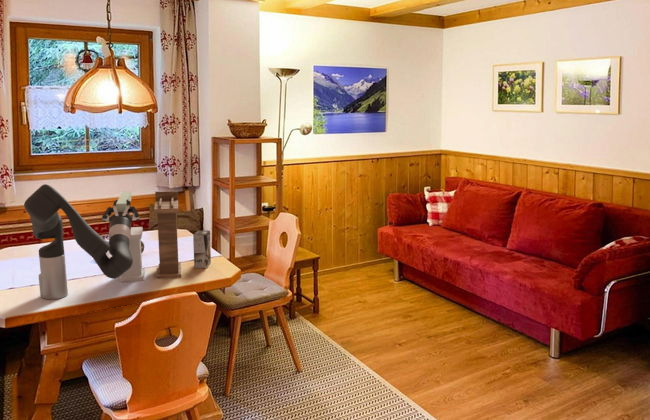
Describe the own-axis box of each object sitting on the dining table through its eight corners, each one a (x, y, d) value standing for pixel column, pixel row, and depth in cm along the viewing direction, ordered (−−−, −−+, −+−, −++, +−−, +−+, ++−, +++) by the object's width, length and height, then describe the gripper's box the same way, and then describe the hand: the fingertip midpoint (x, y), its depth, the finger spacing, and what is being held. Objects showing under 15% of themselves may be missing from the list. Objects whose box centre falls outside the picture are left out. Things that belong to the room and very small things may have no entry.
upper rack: (181, 278, 256) (177, 199, 249) (157, 280, 254) (153, 199, 246) (180, 265, 275) (177, 190, 268) (158, 266, 273) (155, 191, 265)
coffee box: (207, 268, 272) (206, 235, 268) (193, 268, 272) (192, 234, 268) (211, 262, 281) (210, 230, 277) (198, 262, 281) (197, 229, 277)
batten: (126, 212, 222) (125, 203, 221) (116, 212, 221) (116, 203, 220) (131, 199, 246) (130, 191, 245) (122, 199, 245) (122, 191, 245)
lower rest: (143, 281, 253) (140, 234, 248) (119, 282, 250) (116, 235, 246) (144, 271, 266) (142, 226, 261) (122, 272, 263) (119, 227, 259)
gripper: (139, 223, 213) (140, 193, 225) (98, 225, 209) (101, 194, 222) (140, 238, 218) (141, 207, 230) (100, 240, 214) (104, 209, 226)
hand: (122, 201), depth 226 cm, fingers closed on batten, 3 cm apart
